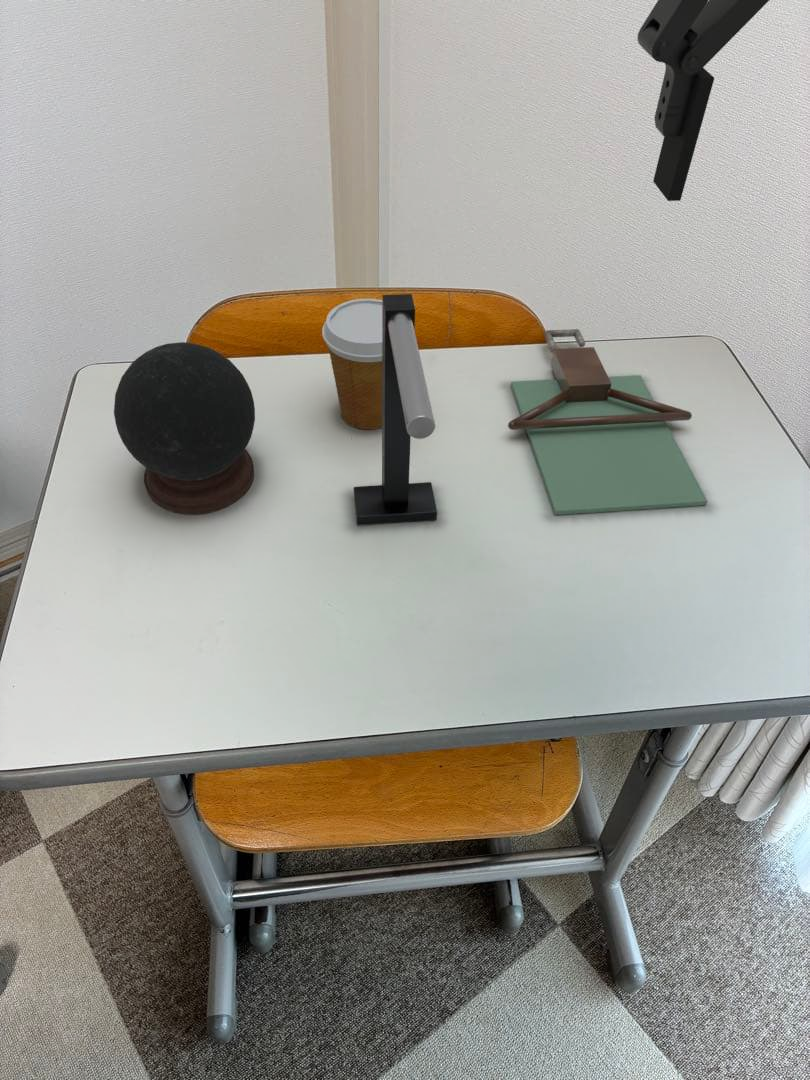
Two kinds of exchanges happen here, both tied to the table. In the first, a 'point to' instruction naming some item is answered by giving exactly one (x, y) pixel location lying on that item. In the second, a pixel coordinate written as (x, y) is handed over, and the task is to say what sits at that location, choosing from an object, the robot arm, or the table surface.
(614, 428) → the mat
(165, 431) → the black ball on stand
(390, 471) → the black and grey stand
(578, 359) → the hanger
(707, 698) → the table surface
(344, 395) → the disposable coffee cup
